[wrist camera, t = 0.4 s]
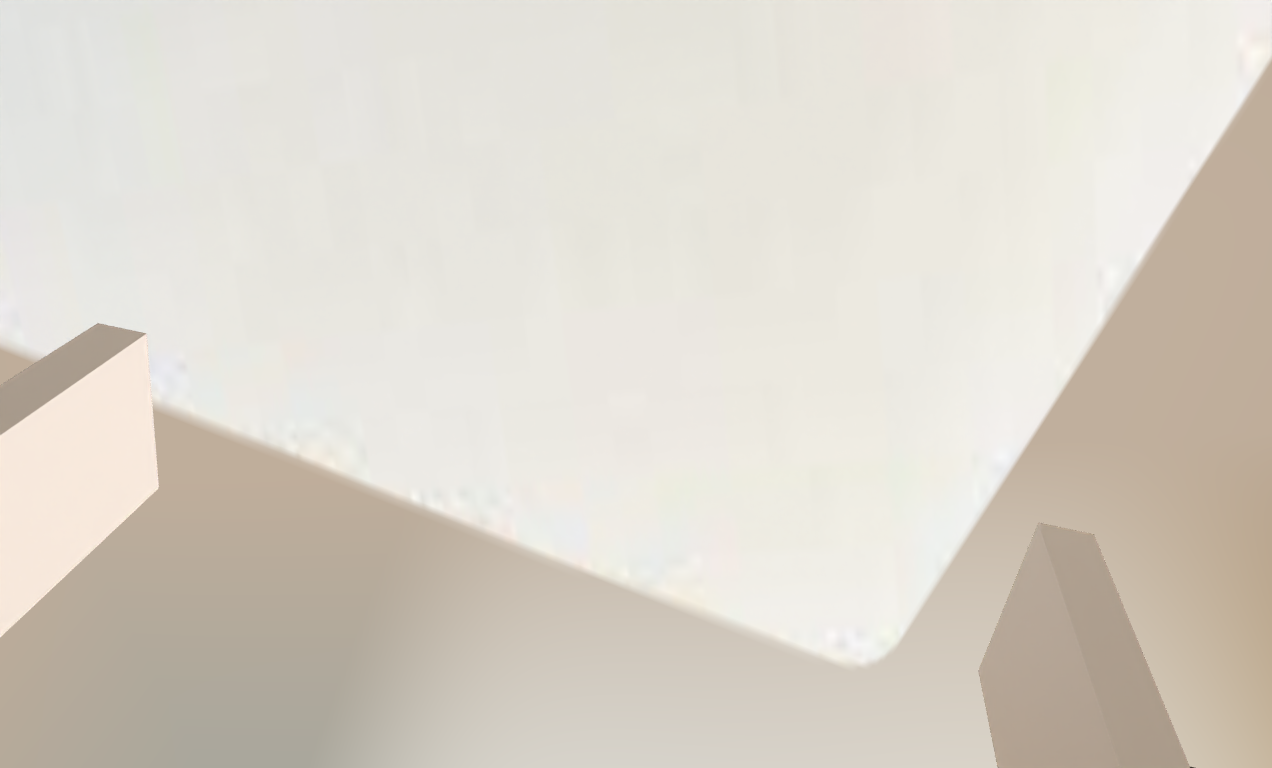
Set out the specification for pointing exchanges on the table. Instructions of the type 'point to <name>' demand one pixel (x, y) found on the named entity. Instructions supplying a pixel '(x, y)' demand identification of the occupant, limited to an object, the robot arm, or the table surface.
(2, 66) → the table surface
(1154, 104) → the table surface
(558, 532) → the table surface
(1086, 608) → the robot arm
